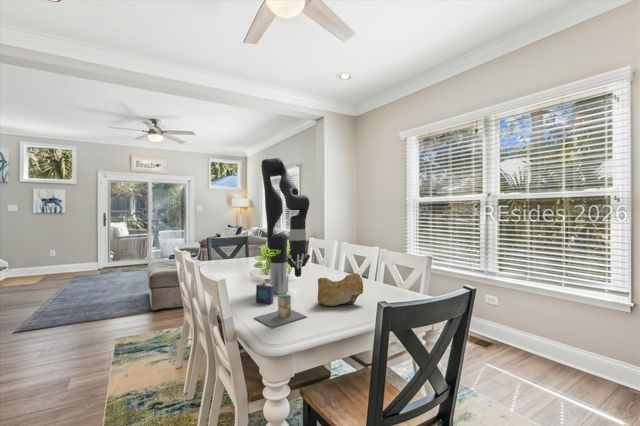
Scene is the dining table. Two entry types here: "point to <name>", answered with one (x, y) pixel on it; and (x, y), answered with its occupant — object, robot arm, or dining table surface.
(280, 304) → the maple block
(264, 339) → the dining table surface
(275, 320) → the rubber mat
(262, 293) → the flask
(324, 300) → the rough brown rock
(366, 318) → the dining table surface
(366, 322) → the dining table surface
